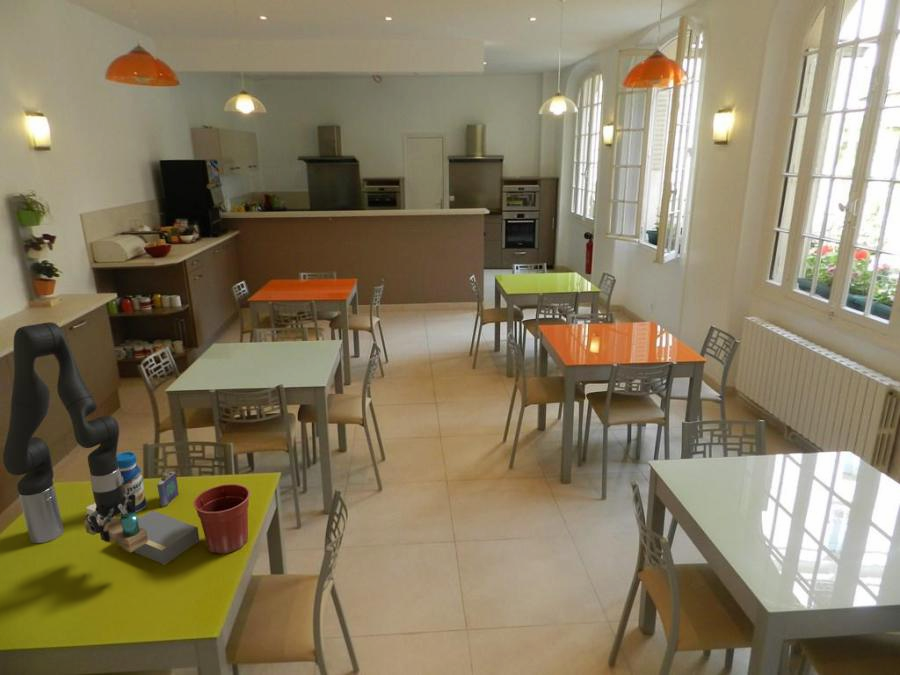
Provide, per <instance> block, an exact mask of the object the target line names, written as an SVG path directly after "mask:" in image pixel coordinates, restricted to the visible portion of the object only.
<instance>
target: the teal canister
mask: <svg viewBox="0 0 900 675" xmlns="http://www.w3.org/2000/svg"><path fill="white" fill-rule="evenodd" d="M137 513H138V512H135V513H134V512H131V513H127V514H124V515H123V516H120V519H121V524H122V530H123V535H124V536H125V537H132V536H135V535H137V534H138V533H139V532H140V528H139V522H138V519H139V516H138V514H137Z"/></svg>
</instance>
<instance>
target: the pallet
mask: <svg viewBox="0 0 900 675" xmlns="http://www.w3.org/2000/svg"><path fill="white" fill-rule="evenodd" d="M105 519H106V518H105ZM83 522H84V526H85V531H86V533H87V534H90V535H92V536H95V535H97V534H98V533H96V532H94V531H92V530H91V528H90V526H89V523H88V521H87V519H86V518H85V520H84V521H83ZM98 524H99V522H98ZM139 528H140V532H139V533H138V534H137V535H135V536H132V537H125V536H124V535H123V530H122V524H121V517H120V518H119V517H117V516H116V515H115V516H114V517H112V518H111V521H110V523H109V524H108V529H107V530H108V532H109V537H110V541H109V542H108V543H109V544H111V545H112V544H114V543H115V542H118V540H119V541H122V545H123V547H122V549H123V550H124V551H126V552H128V553H132V552H134V550H135V549H137V548H139V547H140V546H142V545H143V544H145V543H147V542H148V538H147V532H146V529H143V528H141V527H139Z"/></svg>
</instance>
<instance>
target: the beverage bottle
mask: <svg viewBox="0 0 900 675" xmlns="http://www.w3.org/2000/svg"><path fill="white" fill-rule="evenodd" d="M116 456H117V461H118V467H119V470H120V473H121V477H122V483H123V489H124V496H125V495H127V493H131V494H134V495H135V513H138V512H140V511H142V510H144V509H145V508H146V507H147V498H146V493H145V486H144V482H143V480H144V479H143V475H142V474H141V473H142V470H141V468H140V467H139V466H138V465H137V456H136V453H135V452H133V451H123V452H121V453H119V454H116ZM123 507H124V508H125V509H126V501H125V504H124V506H123Z"/></svg>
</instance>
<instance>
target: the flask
mask: <svg viewBox="0 0 900 675" xmlns="http://www.w3.org/2000/svg"><path fill="white" fill-rule="evenodd" d="M161 475H162V478H161V479H160V480H159V481H158V482H157V485H156V486H157V490H158V496H159V502H160V507H162V508H165V507H167V506H169V505H170V503H171V501H172V500H173V501H174V498H175V499H176V498H177V497H178V496H179V495H180V493H179V492H180V491H179V489H178V488H179V486H178V478H177V472H176V471H170V472H169V473H166V472H162V474H161ZM177 495H178V496H177ZM176 496H177V497H176ZM173 501H172V502H173ZM168 504H169V505H168Z"/></svg>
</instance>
